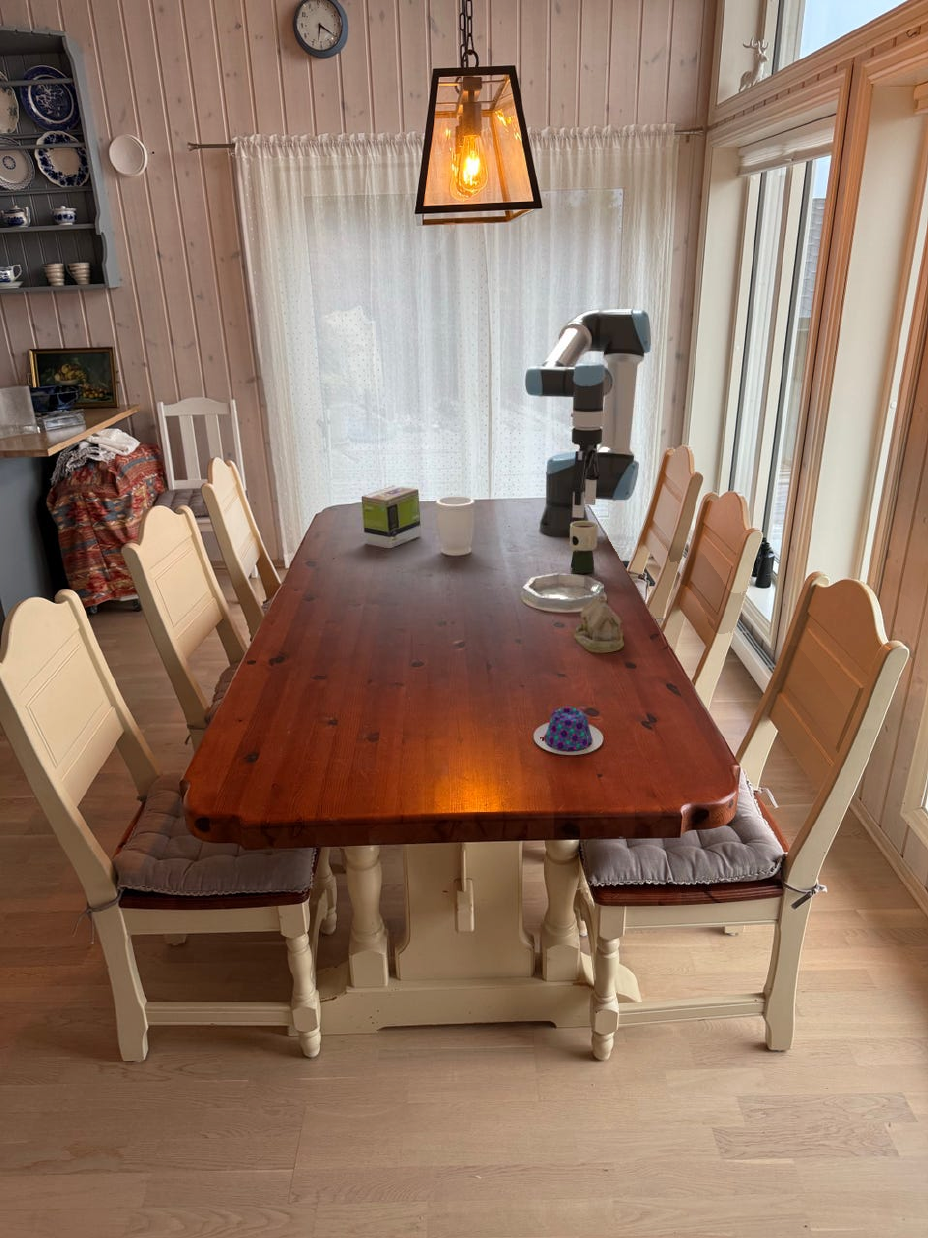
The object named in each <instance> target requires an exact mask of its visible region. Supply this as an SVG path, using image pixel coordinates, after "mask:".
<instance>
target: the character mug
mask: <svg viewBox="0 0 928 1238" xmlns="http://www.w3.org/2000/svg"><path fill="white" fill-rule="evenodd" d="M598 533H599V532H598V523H596V522H595V521H590V520H589V521H576V522H573V523H571V524H570V537H569V548H570V549H572V550H573V552H572V557H571V562H570V568H569V569H570V571H571V572H573V573H575V574H586V573H590V572H594V571H595V560H594V558H595V557H594V552H593V551H594V550H596V549H597V548H598V547H597V546H598Z"/></svg>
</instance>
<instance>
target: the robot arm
mask: <svg viewBox="0 0 928 1238" xmlns="http://www.w3.org/2000/svg"><path fill="white" fill-rule="evenodd" d="M650 323H651V322H650V317H649V314H648V313H647V312H646V311H645V310H643V309H642V310H640V309H633V308H630V309H629V308H628V309H593V310H592V309H591V310H588V311H584V312H582V313H581V314H579V315H576V316H575V317H572V318H571V319H570V320H569V321H568V322H567V323H565V325H564V326H563V327H562V329H561V330H560V332H559V334H558V341H557V342H556V344H555V345H554V347H553V348H552V350H551V352H549V354H548V356H547V358H546V359H545V360H544V362H543V363H542V365H533V366H529V367H528V368H527V370H526V373H525V378H524V379H525V380H524V384H525V391H526V393H527V394H528V395H529V396H533V397H540V398H541V397H553V398H554V397H556V398H558V397H559V398H560V397H561V398H572V400H573V401H572V413H570V418H572V424H571V425H572V426H573V428H572V429H571V442H572V444H574V445H578V446H579V449H578V450H577V451H576V450H575V451H570V452H563V453H558V454H555V455H553V456H551V457H549V458H548V460H547V462H546V471H545V479H546V480H545V483H546V484H545V506H544V510H543V513H542V516H541V519H540V521H539V531H540V532H541V533H542V534H545V535H547V536H552V537H560V538H563V537H564V538H570V524H571V523H573V522H576V521H590V520H589V516H588V513H587V510H586V507H585V506H586V505H587V506H589V505H590V506H596V500H603V501H605V500H606V501H613V502H616V501H628V500H630V499H631V497H632V496H633V494H634V492H635V488H636V484H637V480H638V476H639V468H640V463H639V462H638V461H637V460H635V454H634V453H633V451H632V450H631V440H632V439H631V438H632V430H633V429H632V428H633V427H632V426H633V417H634V407H635V398H636V386H637V377H638V367H639V365H640V364H641V363H642V362H643V361H644V360H645V354H647V353H650V351H651V345H652V335H651V334H652V333H651V332H652V331H651V324H650ZM587 352H599V353H600V352H602V353H603V354H602V355H603V356H602V358H603V359H604V360H605V361H606V363H607V367H606V366H605V365H604V364H603V363H601V362H593V361H591V362H589V361H588V362H579V363H578V361H579V359H580V358H581V356H582V355H584V354H586V353H587ZM598 445H599V448H598Z"/></svg>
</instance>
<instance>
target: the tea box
mask: <svg viewBox="0 0 928 1238" xmlns="http://www.w3.org/2000/svg"><path fill="white" fill-rule="evenodd" d="M361 507H362V521H363V533H364V542H365V543H364V544H366V545H370V546H375V547H378V548H385V549H391V548H394V547H396V546H399V545H401V544H404V543H407V542H409V541H411V540H414V539H416V538H419V537H421V536H422V527H421V525H422V524H421V511H420V510H421V509H420V507H421V506H420V493H419V489H418V488H412V487H411V488H409V487H404V486H396V485H391V486H388V487H385V488H383V489H379V490H377V491H373V492H372V493H371V492H370V493H368V494H365V495H361Z"/></svg>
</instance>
